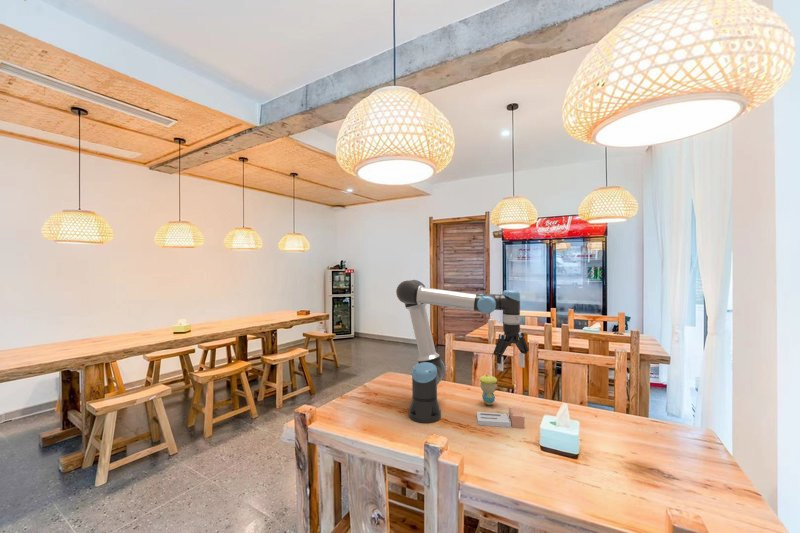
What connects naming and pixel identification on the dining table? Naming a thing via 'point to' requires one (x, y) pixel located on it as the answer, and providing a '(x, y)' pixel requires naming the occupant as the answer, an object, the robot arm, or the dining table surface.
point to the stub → (516, 417)
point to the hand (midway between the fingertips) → (511, 368)
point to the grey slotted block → (493, 419)
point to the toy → (488, 388)
